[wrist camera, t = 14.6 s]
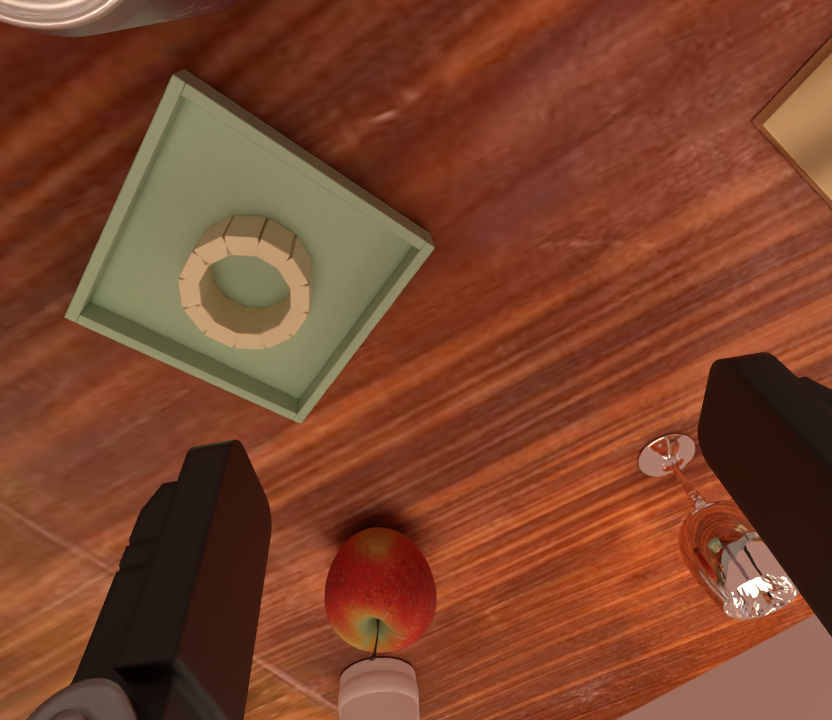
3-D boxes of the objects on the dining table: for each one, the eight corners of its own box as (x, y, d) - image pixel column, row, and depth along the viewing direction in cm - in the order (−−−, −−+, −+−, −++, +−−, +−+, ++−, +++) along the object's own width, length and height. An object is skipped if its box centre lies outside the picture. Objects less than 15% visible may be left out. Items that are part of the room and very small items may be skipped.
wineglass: (718, 434, 42) (832, 572, 32) (676, 486, 45) (768, 628, 35) (655, 420, 40) (754, 560, 31) (615, 475, 43) (694, 619, 33)
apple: (388, 580, 48) (396, 703, 40) (308, 550, 45) (298, 676, 36) (447, 528, 45) (469, 649, 37) (366, 490, 42) (369, 614, 33)
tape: (173, 286, 31) (158, 313, 28) (225, 191, 28) (213, 210, 26) (278, 339, 33) (272, 368, 31) (334, 256, 31) (332, 280, 28)
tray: (78, 300, 31) (63, 317, 29) (184, 68, 25) (172, 73, 24) (303, 404, 37) (301, 424, 35) (430, 233, 31) (435, 247, 29)
